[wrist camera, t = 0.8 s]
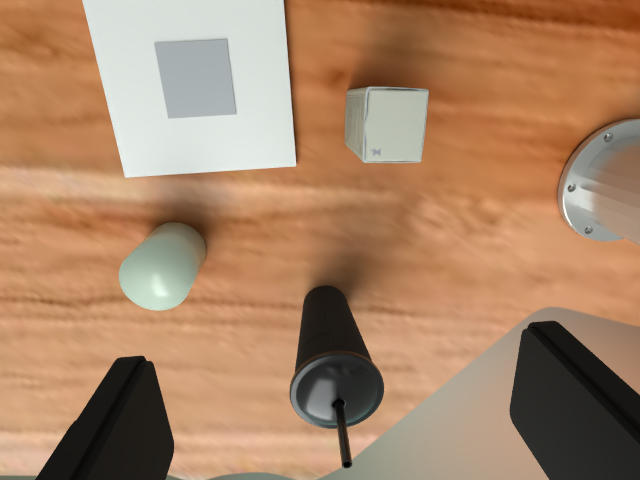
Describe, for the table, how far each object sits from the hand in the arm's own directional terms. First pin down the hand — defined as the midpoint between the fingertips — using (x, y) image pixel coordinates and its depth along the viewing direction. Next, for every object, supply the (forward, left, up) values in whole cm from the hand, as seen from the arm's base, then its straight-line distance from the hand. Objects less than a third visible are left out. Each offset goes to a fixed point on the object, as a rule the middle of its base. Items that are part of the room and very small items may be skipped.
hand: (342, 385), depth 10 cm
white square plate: (+9, -8, -30) cm, 33 cm away
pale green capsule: (+14, +8, -30) cm, 34 cm away
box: (-6, -4, -31) cm, 31 cm away
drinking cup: (-1, +16, -31) cm, 35 cm away
